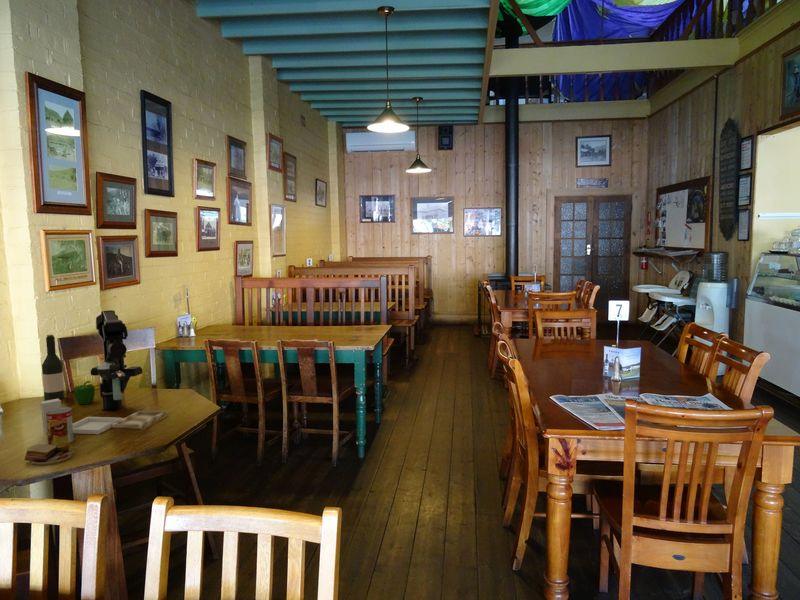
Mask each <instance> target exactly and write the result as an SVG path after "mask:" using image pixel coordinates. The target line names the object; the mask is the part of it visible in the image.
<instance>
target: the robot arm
mask: <svg viewBox="0 0 800 600" xmlns="http://www.w3.org/2000/svg"><path fill="white" fill-rule="evenodd" d="M127 328H128V327H127V325H126V324H125V323H123V321H122V320H121V319H119V316H118V315H117V314H116V311H115V310H113V309H112V310H111V309H109V310H102V311H101V312H100V314H99V315H98V316H96V318H95V329H96V330H97V333H98V335H99V337H101V339H102V347H103V361H104V362H103V363H101V364H100V365H97V366H95V367H92V368H91V369H90V376H99V377H100V378H101V382H100V383H99V395H100V398H102V404H103V405H102V406H103V407H102V408H101V409H100V410H101V411H112V412H113V411H118V410H120V409H121V408H123V407H124V405H123V404H122V403H123V401H122V400H123V399H120V400H113V385H112V379H114V378H119V380H120V390H121V393H123V394H124V393H125V391H126V387H127V385H128V382H129V380H130V379H131V377H136V376H139V375H142V374H143V373H144V372H143V368H142V367H141V366H137V365H135V366H130V367H128V366H127V364H125V358H127V354H126V353H127V350H128V347H127V346H126V344H125V343H124V340H127V337H128V336H129V335H128V329H127ZM119 374H120V375H119Z"/></svg>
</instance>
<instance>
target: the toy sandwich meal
mask: <svg viewBox="0 0 800 600" xmlns="http://www.w3.org/2000/svg"><path fill="white" fill-rule="evenodd" d="M70 448H71V442H69V443H66V444H63V445H58V446H55V445H50V444H43V443H38V444H34V445H31V446H30V447H28V448H27V449H26V452H25V456H24V461H26V462H27V461H28V462H30V463H31V464H33V465H35V464H36V465H35V466H49V464H50V465H54V463H56V464H59V463H62V462H61V461H63V462H64V460H65V461H68V460H69V459H70V458H71V457H72V456H73V455H74V451H73V450H72V449H70ZM68 458H69V459H68ZM58 462H59V463H58Z"/></svg>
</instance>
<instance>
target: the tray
mask: <svg viewBox="0 0 800 600" xmlns="http://www.w3.org/2000/svg"><path fill="white" fill-rule="evenodd" d="M165 415H166V416H167V411H165V410H137V411H136V412H134V413H133V412H132V414H129V415H127V416H126V417H124V418H123V417H122V418H123V419H121V420H120V421H118V422H116V423H114V424H112V427H111V428H112V429H114V428H115V429H135V430H136V429H139V430H140V429H142V430H143V429H145V428H147V427H149V426H150V425H149V424H151V423H152V424H154V423H156V422H157V421H156V420H158V419H159V420H161V419H162V417H163V418H164V416H165ZM166 416H165V417H166ZM160 418H161V419H160ZM159 420H158V421H159ZM155 421H156V422H155ZM153 422H154V423H153ZM152 424H151V425H152ZM148 425H149V426H148ZM146 426H147V427H146ZM144 427H145V428H144Z"/></svg>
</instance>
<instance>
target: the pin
mask: <svg viewBox="0 0 800 600" xmlns="http://www.w3.org/2000/svg"><path fill="white" fill-rule="evenodd" d="M112 385H113V400H120V399H122V400H123V399H124V395H123V394H124V393H121V390H120V380H119V378H114V379H112Z"/></svg>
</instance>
